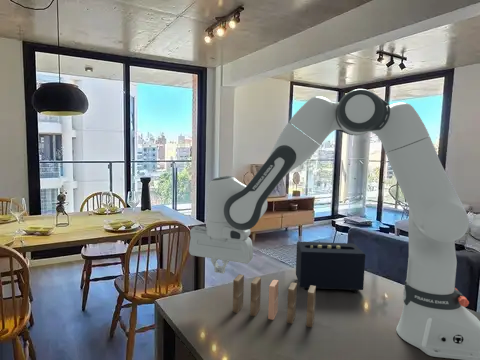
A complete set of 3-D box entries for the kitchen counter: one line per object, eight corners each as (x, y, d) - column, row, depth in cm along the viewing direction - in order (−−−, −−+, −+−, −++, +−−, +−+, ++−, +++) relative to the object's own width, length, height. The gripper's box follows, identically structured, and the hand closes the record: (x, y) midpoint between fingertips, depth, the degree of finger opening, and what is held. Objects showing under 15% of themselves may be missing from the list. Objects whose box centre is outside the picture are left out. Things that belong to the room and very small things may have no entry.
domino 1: (243, 305, 108) (244, 274, 107) (237, 313, 103) (238, 280, 102) (238, 304, 108) (239, 274, 107) (232, 312, 104) (233, 280, 103)
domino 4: (295, 315, 102) (297, 283, 101) (292, 323, 98) (293, 289, 97) (290, 314, 103) (291, 282, 102) (286, 322, 98) (288, 288, 97)
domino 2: (260, 308, 106) (261, 277, 105) (255, 316, 101) (256, 283, 100) (255, 307, 107) (255, 276, 105) (250, 315, 102) (250, 282, 101)
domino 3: (277, 312, 104) (278, 280, 103) (273, 319, 100) (274, 286, 98) (272, 311, 105) (273, 279, 104) (268, 318, 100) (269, 285, 99)
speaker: (352, 279, 131) (354, 241, 129) (363, 294, 118) (365, 252, 116) (295, 277, 132) (296, 239, 130) (299, 292, 119) (301, 249, 117)
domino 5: (314, 319, 101) (316, 286, 100) (312, 327, 96) (313, 293, 95) (308, 317, 101) (310, 285, 100) (306, 326, 96) (307, 292, 95)
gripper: (185, 227, 106) (185, 270, 107) (249, 235, 99) (247, 281, 100) (195, 222, 112) (194, 264, 113) (255, 230, 105) (253, 274, 106)
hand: (219, 272), depth 107 cm, fingers closed
